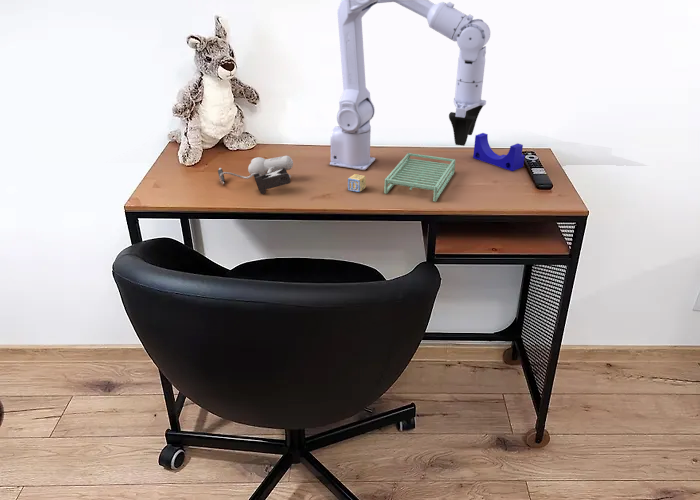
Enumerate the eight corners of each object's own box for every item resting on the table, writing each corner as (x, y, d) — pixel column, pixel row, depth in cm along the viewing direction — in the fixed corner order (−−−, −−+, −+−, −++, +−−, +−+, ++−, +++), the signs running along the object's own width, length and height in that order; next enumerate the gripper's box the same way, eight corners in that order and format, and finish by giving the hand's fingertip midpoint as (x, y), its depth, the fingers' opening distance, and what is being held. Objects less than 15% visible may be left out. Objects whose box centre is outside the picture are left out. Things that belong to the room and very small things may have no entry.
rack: (435, 202, 138) (437, 187, 136) (383, 193, 142) (384, 179, 140) (454, 172, 153) (455, 159, 151) (406, 166, 157) (407, 152, 155)
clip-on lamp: (216, 204, 143) (292, 190, 141) (206, 180, 140) (284, 165, 137) (226, 179, 153) (297, 166, 150) (217, 156, 149) (290, 142, 147)
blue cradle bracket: (523, 166, 157) (526, 143, 154) (512, 171, 154) (515, 147, 151) (483, 153, 164) (486, 131, 161) (473, 157, 162) (475, 135, 159)
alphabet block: (347, 190, 143) (347, 177, 142) (354, 185, 146) (354, 173, 144) (359, 193, 142) (359, 180, 141) (365, 188, 145) (366, 175, 143)
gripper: (481, 89, 130) (474, 152, 137) (493, 73, 142) (487, 132, 149) (448, 86, 133) (443, 147, 139) (462, 70, 144) (457, 128, 151)
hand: (463, 139), depth 144 cm, fingers open, 7 cm apart
